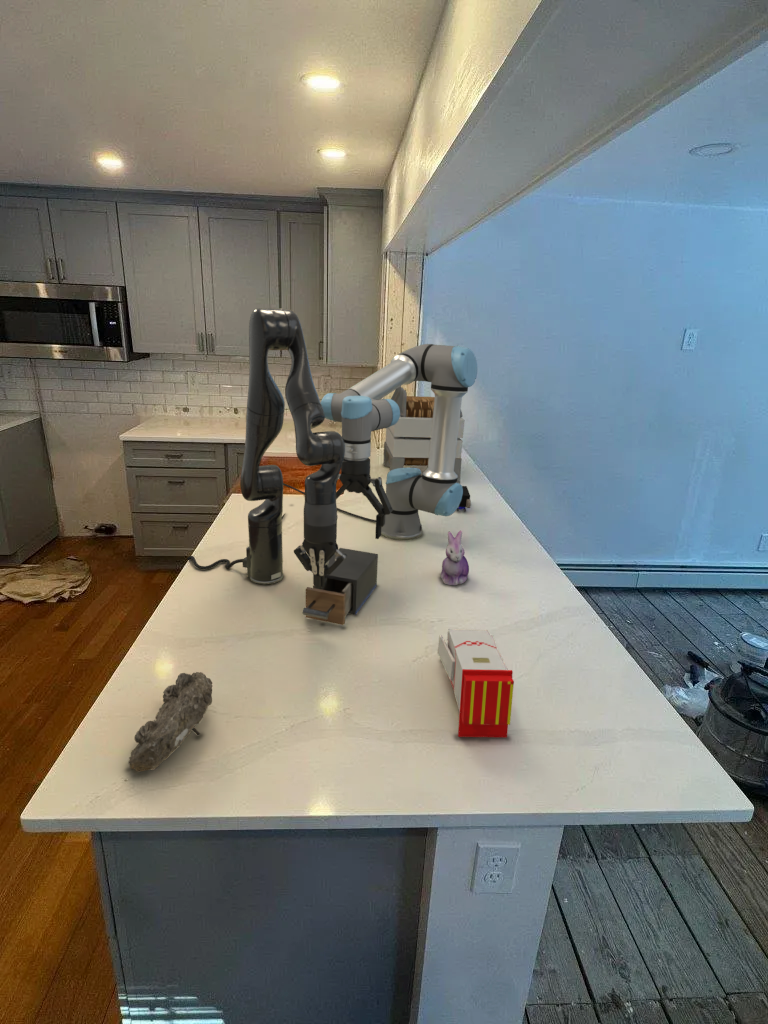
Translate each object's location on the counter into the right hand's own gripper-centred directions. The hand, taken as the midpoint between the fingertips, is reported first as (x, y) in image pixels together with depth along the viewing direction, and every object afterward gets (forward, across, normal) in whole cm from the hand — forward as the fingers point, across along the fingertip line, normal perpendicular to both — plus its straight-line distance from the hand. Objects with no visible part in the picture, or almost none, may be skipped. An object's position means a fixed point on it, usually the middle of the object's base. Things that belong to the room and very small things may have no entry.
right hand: (354, 533), depth 154 cm
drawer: (+16, 0, -15) cm, 22 cm away
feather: (+17, -44, +44) cm, 64 cm away
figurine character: (+18, +16, +82) cm, 85 cm away
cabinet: (+17, 0, -4) cm, 17 cm away
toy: (+17, +38, -34) cm, 54 cm away
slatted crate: (+18, -12, +124) cm, 126 cm away
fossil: (+16, -10, -65) cm, 67 cm away
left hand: (+5, 0, -23) cm, 24 cm away
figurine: (+17, +26, +17) cm, 35 cm away
